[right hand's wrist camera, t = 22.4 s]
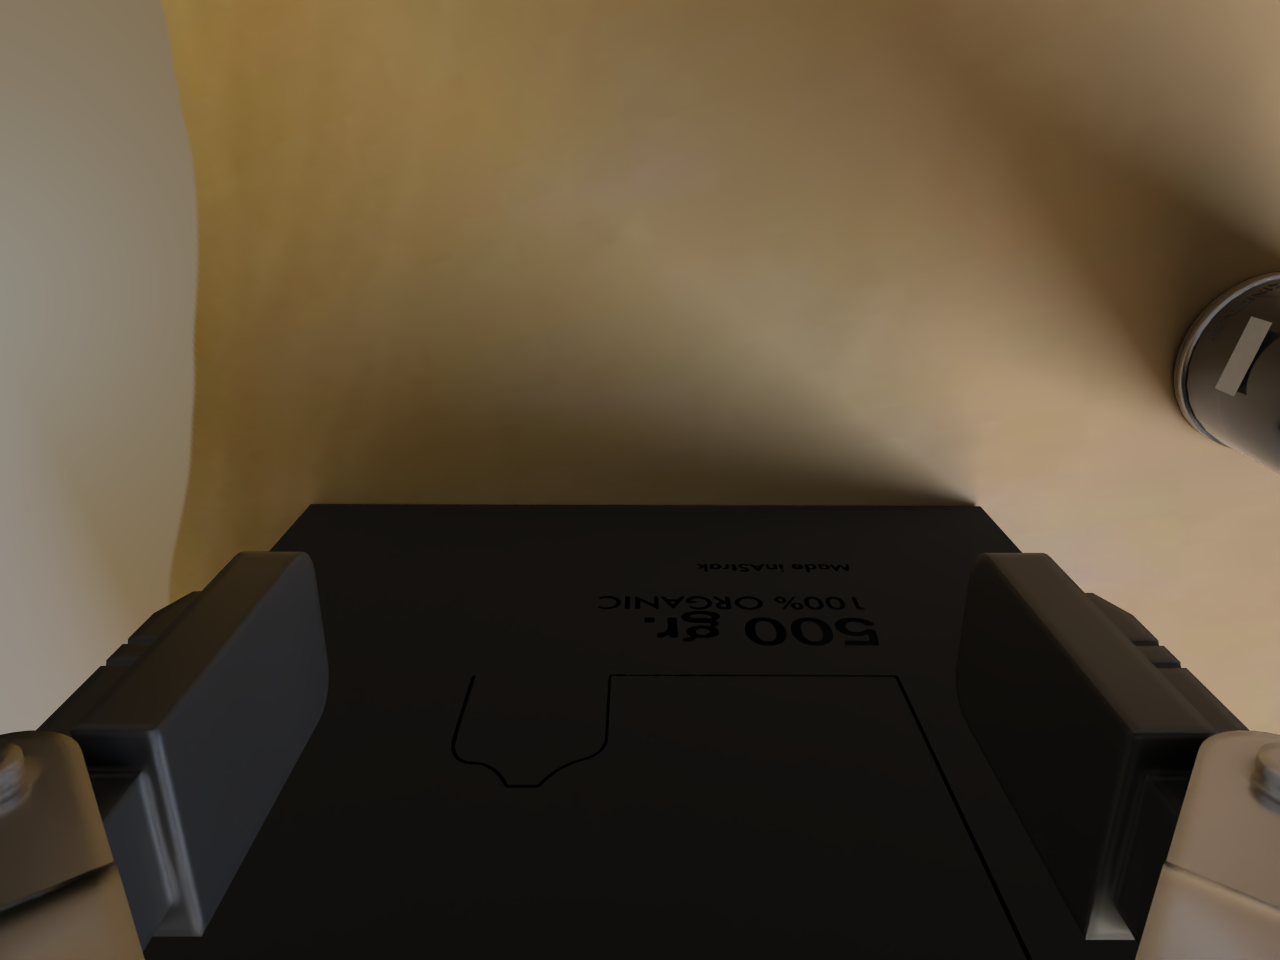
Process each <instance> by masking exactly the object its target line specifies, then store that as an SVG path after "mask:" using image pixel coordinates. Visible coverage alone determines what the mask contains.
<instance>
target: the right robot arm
mask: <svg viewBox="0 0 1280 960" xmlns="http://www.w3.org/2000/svg"><path fill="white" fill-rule="evenodd" d="M1174 389H1175V395H1176V399H1177V402H1178V405H1179V407H1180V409H1181V412H1182V413H1183V415H1184V417H1185V418H1186V419H1187V421H1188V422H1189V423H1190V424H1191V425H1192V426H1193V427H1194V428H1195V429H1196V430H1197V431H1198V432H1200V433H1201V434H1203V435H1204V436H1206V437H1208V438H1210V439H1211V440H1213V441H1215V442H1217V443H1219V444H1221V445H1224V446H1226V447H1229V448H1232V449H1234V450H1236V451H1238V452H1240V453H1242V454H1244V455H1245V456H1247V457H1249V458H1251V459H1252V460H1254V461H1256V462H1258V463H1260V464H1262V465H1263V466H1265V467H1267V468H1269V469H1271V470H1273V471H1275V472H1276V473H1278V474H1280V272H1274V273H1268V274H1264V275H1260V276H1257V277H1254V278H1251V279H1248V280H1246V281H1244V282H1242V283H1240V284H1237V285H1236V286H1234V287H1232V288H1230V289H1229V290H1227V291H1226V292H1224V293H1223V294H1221V295H1220V296H1219V297H1218V298H1216V299H1215V300H1214V301H1213V302H1212V303H1211V304H1210V305H1209V306H1207V307H1206V308H1205V309H1204V311H1203V312H1202V313H1201V314H1200V315H1199V316H1198V318H1197V319H1196V320H1195V321H1194V323H1193V324H1192V326H1191V327H1190V329H1189V330H1188V332H1187V334H1186V336H1185V338H1184V340H1183V342H1182V344H1181V347H1180V349H1179V352H1178V355H1177V359H1176V364H1175V370H1174ZM106 662H107V663H106V666H100V667H99V668H98V669H97V670H96V671H95V672H94V673H93V674H92V675H91V676H90V677H89V678H88V679H87V680H86V681H85V682H84V683H83V684H82V685H81V686H80V687H79V688H78V689H77V690H76V691H75V692H74V693H73V694H72V695H71V696H70V697H69V698H68V699H67V700H66V701H65V702H64V703H63V704H62V705H61V706H60V707H59V708H58V709H57V710H56V711H55V712H54V713H53V714H52V715H51V716H50V717H49V718H48V719H47V720H46V721H45V722H44V723H43V724H42V725H41V726H40V727H39V728H38V729H37V730H36V731H22V732H13V733H8V734H3V735H0V960H145V958H144V955H143V951H144V950H145V948H146V946H147V945H148V943H149V941H150V940H151V938H152V936H202V935H203V933H204V931H205V930H206V928H207V926H208V924H209V922H210V920H211V919H212V917H213V915H214V913H215V911H216V909H217V908H218V906H219V904H220V902H221V900H222V898H223V896H224V895H225V893H226V891H227V889H228V887H229V885H230V884H231V882H232V880H233V878H234V876H235V874H236V873H237V871H238V869H239V867H240V865H241V863H242V861H243V860H244V858H245V856H246V854H247V852H248V850H249V849H250V847H251V845H252V843H253V841H254V839H255V838H256V836H257V834H258V832H259V830H260V828H261V827H262V825H263V823H264V821H265V819H266V817H267V815H268V814H269V812H270V810H271V808H272V806H273V804H274V803H275V801H276V799H277V797H278V795H279V793H280V792H281V790H282V788H283V786H284V784H285V782H286V781H287V779H288V777H289V775H290V773H291V771H292V769H293V768H294V766H295V764H296V762H297V760H298V758H299V757H300V755H301V753H302V751H303V749H304V747H305V746H306V744H307V742H308V740H309V738H310V736H311V734H312V733H313V731H314V729H315V727H316V725H317V723H318V722H319V720H320V718H321V716H322V713H323V710H324V707H325V704H326V699H327V693H328V685H329V666H328V658H327V651H326V644H325V637H324V630H323V623H322V616H321V609H320V602H319V595H318V588H317V581H316V574H315V569H314V565H313V562H312V560H311V558H310V556H309V555H308V554H307V553H305V552H240V553H238V554H237V555H236V556H235V557H234V558H233V559H232V560H231V561H230V562H229V563H228V564H227V565H226V566H225V567H224V568H223V569H222V570H221V571H220V572H219V574H218V575H217V576H216V577H215V578H214V579H213V580H212V581H211V582H210V583H209V584H208V585H207V586H206V587H205V588H204V589H203V590H202V591H201V592H192V593H190V594H188V595H186V596H184V597H182V598H181V599H179V600H177V601H175V602H173V603H172V604H170V605H168V606H166V607H164V608H163V609H161V610H159V611H157V612H155V613H154V614H153V615H152V616H151V617H150V618H149V619H148V620H147V621H146V622H145V623H144V624H143V625H142V626H140V627H139V628H138V630H136V631H135V632H134V633H133V634H132V635H131V636H130V637H129V639H128V644H122V645H121V646H120V647H119V648H118V649H117V650H116V651H115V652H114V653H113V654H112V655H111V656H110V657H109V658H108V659H107V661H106ZM1180 663H1181V662H1180V661H1179V660H1178V659H1177V658H1175V657H1174V656H1173V655H1172V654H1171V653H1170V652H1169V651H1168V650H1167V649H1166V648H1165V647H1164V646H1159V644H1158V640H1157V639H1156V638H1155V637H1154V636H1153V635H1152V634H1151V633H1150V632H1149V631H1148V630H1147V629H1146V628H1145V627H1144V626H1143V625H1142V624H1141V623H1140V622H1139V621H1138V620H1137V619H1136V618H1135V617H1134V616H1133V615H1131V614H1130V613H1128V612H1126V611H1124V610H1122V609H1121V608H1119V607H1117V606H1115V605H1113V604H1111V603H1110V602H1108V601H1106V600H1104V599H1102V598H1101V597H1099V596H1097V595H1095V594H1093V593H1084V592H1083V591H1082V590H1081V589H1080V588H1079V587H1078V586H1077V585H1076V584H1075V582H1074V581H1073V580H1072V579H1071V578H1070V577H1069V576H1068V575H1067V574H1066V573H1065V572H1064V571H1063V570H1062V569H1061V568H1060V567H1059V566H1058V565H1057V564H1056V563H1055V562H1054V561H1053V560H1052V559H1051V557H1049V556H1048V555H1047V554H1044V553H981V554H979V555H978V556H976V558H975V560H974V561H973V564H972V567H971V570H970V576H969V582H968V589H967V596H966V603H965V610H964V617H963V623H962V630H961V637H960V644H959V651H958V658H957V665H956V689H957V697H958V702H959V706H960V710H961V713H962V715H963V718H964V720H965V722H966V724H967V725H968V727H969V729H970V731H971V733H972V734H973V736H974V738H975V740H976V742H977V744H978V745H979V747H980V749H981V751H982V753H983V754H984V756H985V758H986V760H987V762H988V764H989V765H990V767H991V769H992V771H993V773H994V774H995V776H996V778H997V780H998V782H999V784H1000V785H1001V787H1002V789H1003V791H1004V793H1005V794H1006V796H1007V798H1008V800H1009V802H1010V804H1011V805H1012V807H1013V809H1014V811H1015V813H1016V814H1017V816H1018V818H1019V820H1020V822H1021V824H1022V825H1023V827H1024V829H1025V831H1026V833H1027V834H1028V836H1029V838H1030V840H1031V842H1032V844H1033V845H1034V847H1035V849H1036V851H1037V853H1038V854H1039V856H1040V858H1041V860H1042V862H1043V864H1044V865H1045V867H1046V869H1047V871H1048V873H1049V874H1050V876H1051V878H1052V880H1053V882H1054V884H1055V885H1056V887H1057V889H1058V891H1059V893H1060V894H1061V896H1062V898H1063V900H1064V902H1065V904H1066V905H1067V907H1068V909H1069V911H1070V913H1071V914H1072V916H1073V918H1074V920H1075V922H1076V924H1077V925H1078V927H1079V929H1080V931H1081V933H1082V934H1083V936H1084V938H1085V940H1136V942H1137V943H1138V945H1139V948H1138V952H1137V955H1136V958H1135V960H1280V735H1277V734H1272V733H1267V732H1259V731H1250V730H1249V729H1248V728H1247V727H1246V726H1245V725H1243V724H1242V723H1241V722H1240V721H1239V720H1238V719H1237V718H1236V717H1235V716H1234V715H1233V714H1232V713H1231V712H1230V711H1229V710H1228V709H1227V708H1226V707H1225V706H1224V705H1223V704H1222V703H1221V702H1220V701H1219V700H1218V699H1217V698H1216V697H1215V696H1214V695H1213V694H1212V693H1211V692H1210V691H1209V690H1208V689H1207V688H1206V687H1205V686H1204V685H1203V684H1202V683H1201V682H1200V681H1199V680H1198V679H1197V678H1196V677H1195V676H1194V675H1193V674H1192V673H1191V672H1190V671H1189V670H1188V669H1187V668H1181V666H1180Z"/></svg>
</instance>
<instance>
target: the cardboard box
mask: <svg viewBox="0 0 1280 960" xmlns="http://www.w3.org/2000/svg"><path fill="white" fill-rule="evenodd" d="M269 552H305V553H307V554H308V555H309V556H310V558H311V560H312V562H313V565H314V569H315V574H316V581H317V588H318V595H319V602H320V609H321V616H322V623H323V630H324V637H325V644H326V651H327V658H328V666H329V685H328V693H327V699H326V704H325V707H324V710H323V713H322V716H321V718H320V720H319V722H318V723H317V725H316V727H315V729H314V731H313V733H312V734H311V736H310V738H309V740H308V742H307V744H306V746H305V747H304V749H303V751H302V753H301V755H300V757H299V758H298V760H297V762H296V764H295V766H294V768H293V769H292V771H291V773H290V775H289V777H288V779H287V781H286V782H285V784H284V786H283V788H282V790H281V792H280V793H279V795H278V797H277V799H276V801H275V803H274V804H273V806H272V808H271V810H270V812H269V814H268V815H267V817H266V819H265V821H264V823H263V825H262V827H261V828H260V830H259V832H258V834H257V836H256V838H255V839H254V841H253V843H252V845H251V847H250V849H249V850H248V852H247V854H246V856H245V858H244V860H243V861H242V863H241V865H240V867H239V869H238V871H237V873H236V874H235V876H234V878H233V880H232V882H231V884H230V885H229V887H228V889H227V891H226V893H225V895H224V896H223V898H222V900H221V902H220V904H219V906H218V908H217V909H216V911H215V913H214V915H213V917H212V919H211V920H210V922H209V924H208V926H207V928H206V930H205V931H204V933H203V935H202V936H152V938H151V940H150V941H149V943H148V945H147V946H146V948H145V950H144V951H143V955H144V958H145V960H1135V958H1136V955H1137V952H1138V948H1139V945H1138V943H1137V942H1136V940H1085V938H1084V936H1083V934H1082V933H1081V931H1080V929H1079V927H1078V925H1077V924H1076V922H1075V920H1074V918H1073V916H1072V914H1071V913H1070V911H1069V909H1068V907H1067V905H1066V904H1065V902H1064V900H1063V898H1062V896H1061V894H1060V893H1059V891H1058V889H1057V887H1056V885H1055V884H1054V882H1053V880H1052V878H1051V876H1050V874H1049V873H1048V871H1047V869H1046V867H1045V865H1044V864H1043V862H1042V860H1041V858H1040V856H1039V854H1038V853H1037V851H1036V849H1035V847H1034V845H1033V844H1032V842H1031V840H1030V838H1029V836H1028V834H1027V833H1026V831H1025V829H1024V827H1023V825H1022V824H1021V822H1020V820H1019V818H1018V816H1017V814H1016V813H1015V811H1014V809H1013V807H1012V805H1011V804H1010V802H1009V800H1008V798H1007V796H1006V794H1005V793H1004V791H1003V789H1002V787H1001V785H1000V784H999V782H998V780H997V778H996V776H995V774H994V773H993V771H992V769H991V767H990V765H989V764H988V762H987V760H986V758H985V756H984V754H983V753H982V751H981V749H980V747H979V745H978V744H977V742H976V740H975V738H974V736H973V734H972V733H971V731H970V729H969V727H968V725H967V724H966V722H965V720H964V718H963V715H962V713H961V710H960V706H959V702H958V697H957V689H956V665H957V658H958V651H959V644H960V637H961V630H962V623H963V617H964V610H965V603H966V596H967V589H968V582H969V576H970V570H971V567H972V564H973V561H974V560H975V558H976V556H978V555H979V554H981V553H1022V552H1021V551H1020V550H1019V549H1018V548H1017V547H1016V546H1015V544H1014V543H1013V542H1012V541H1011V540H1010V539H1009V538H1008V537H1007V536H1006V534H1005V533H1004V532H1003V531H1002V530H1001V529H1000V528H999V527H998V526H997V524H996V523H995V522H994V521H993V520H992V519H991V518H990V517H989V516H988V515H987V513H986V512H985V511H984V510H983V509H982V508H981V507H980V506H679V505H372V504H311V505H310V506H309V507H308V508H307V509H306V510H305V511H304V513H303V514H302V515H301V516H300V517H299V518H298V519H297V521H296V522H295V523H294V524H293V525H292V526H291V527H290V528H289V530H288V531H287V532H286V533H285V534H284V535H283V536H282V538H281V539H280V540H279V541H278V542H277V543H276V544H275V546H274V547H273V548H272V549H271V550H270V551H269ZM626 596H627V598H626V599H625V597H626ZM635 597H636V598H640V600H638V601H636V600H635ZM666 598H667V599H669V601H667V599H666ZM600 608H607V609H600ZM613 608H614V609H613ZM626 608H629V609H626ZM637 608H639V609H637ZM651 618H653V619H652V620H651ZM667 618H669V619H668V620H667ZM673 618H677V621H676V620H674V619H673ZM681 618H682V619H681ZM610 674H613V675H616V676H611V692H610V711H609V720H607V721H606V710H607V692H608V675H610ZM627 674H653V675H654V676H626V675H627ZM660 675H675V676H660ZM693 675H708V676H693Z"/></svg>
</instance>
